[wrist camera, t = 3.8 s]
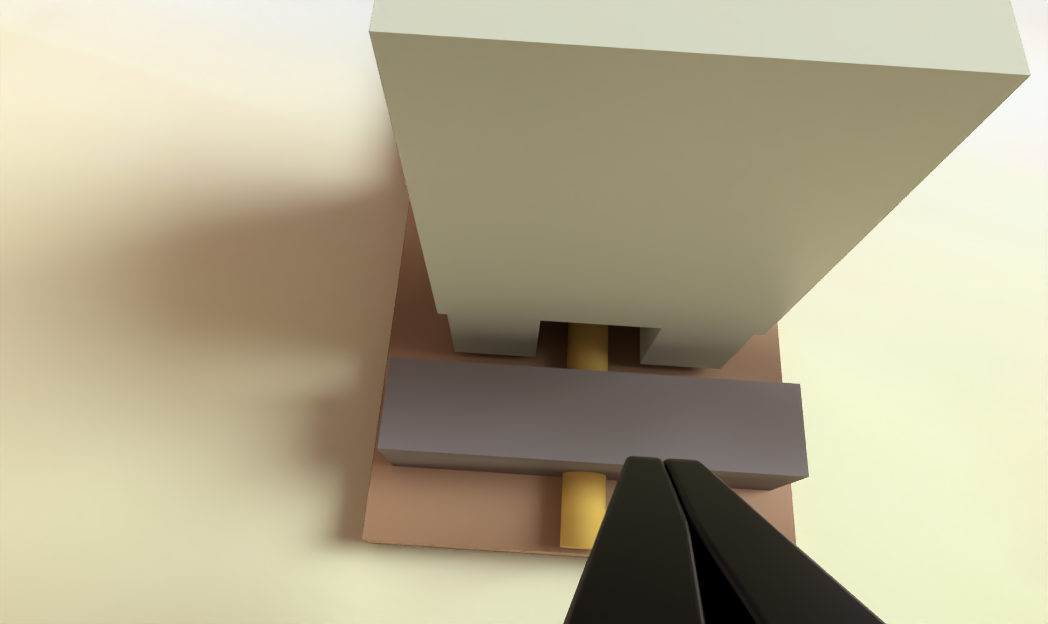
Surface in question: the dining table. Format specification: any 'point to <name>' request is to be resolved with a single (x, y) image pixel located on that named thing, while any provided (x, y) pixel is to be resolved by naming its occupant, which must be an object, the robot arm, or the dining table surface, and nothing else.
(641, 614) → the robot arm
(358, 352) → the dining table surface
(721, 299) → the tall pale green box
